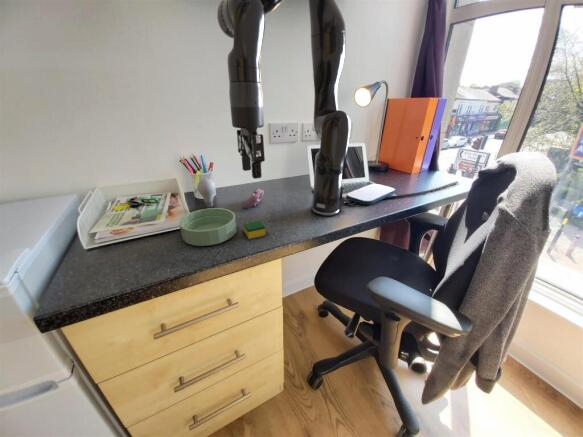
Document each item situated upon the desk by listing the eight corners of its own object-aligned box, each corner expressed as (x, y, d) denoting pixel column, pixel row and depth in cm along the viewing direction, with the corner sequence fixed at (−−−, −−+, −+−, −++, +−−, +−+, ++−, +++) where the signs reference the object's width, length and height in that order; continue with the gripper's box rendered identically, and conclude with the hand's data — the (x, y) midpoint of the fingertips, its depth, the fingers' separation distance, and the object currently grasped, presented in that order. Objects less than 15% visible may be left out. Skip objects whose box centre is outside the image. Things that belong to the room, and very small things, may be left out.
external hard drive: (373, 187, 110) (373, 182, 109) (397, 193, 102) (398, 188, 101) (342, 199, 96) (343, 194, 95) (367, 207, 88) (368, 202, 87)
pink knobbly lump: (252, 213, 86) (259, 198, 83) (241, 207, 86) (248, 191, 83) (260, 203, 95) (267, 189, 92) (250, 197, 95) (257, 183, 92)
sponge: (260, 229, 72) (260, 220, 71) (265, 235, 69) (264, 226, 68) (244, 232, 70) (243, 223, 69) (248, 239, 67) (248, 229, 66)
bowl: (230, 218, 79) (228, 204, 77) (242, 239, 67) (241, 224, 64) (180, 228, 73) (177, 213, 70) (184, 253, 60) (181, 236, 58)
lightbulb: (208, 212, 83) (203, 182, 78) (197, 208, 86) (192, 179, 81) (221, 206, 88) (218, 178, 83) (210, 203, 91) (206, 175, 86)
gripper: (273, 105, 50) (275, 179, 57) (252, 105, 62) (256, 166, 69) (239, 105, 47) (245, 183, 54) (224, 105, 59) (230, 169, 66)
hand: (251, 173), depth 62 cm, fingers open, 8 cm apart
